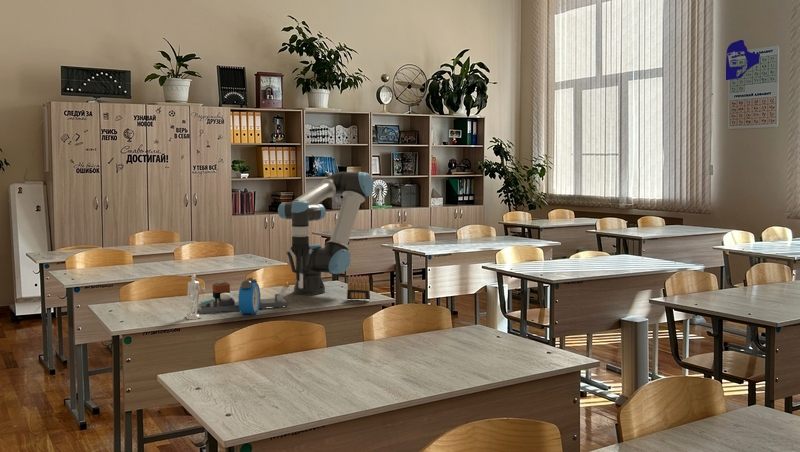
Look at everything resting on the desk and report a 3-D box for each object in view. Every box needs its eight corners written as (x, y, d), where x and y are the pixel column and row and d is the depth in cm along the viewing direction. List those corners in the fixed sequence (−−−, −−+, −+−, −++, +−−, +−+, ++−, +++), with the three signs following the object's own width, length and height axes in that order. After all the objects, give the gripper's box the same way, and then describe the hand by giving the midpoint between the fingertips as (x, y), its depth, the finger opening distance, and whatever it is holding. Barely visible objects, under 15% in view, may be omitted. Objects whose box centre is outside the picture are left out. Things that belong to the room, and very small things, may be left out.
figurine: (205, 315, 309) (203, 272, 308) (206, 318, 303) (205, 275, 301) (184, 316, 307) (183, 274, 305) (185, 320, 300) (183, 276, 298)
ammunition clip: (346, 300, 341) (346, 274, 339) (348, 299, 342) (348, 274, 341) (369, 301, 338) (369, 275, 337) (370, 300, 340) (370, 275, 338)
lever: (281, 298, 330) (289, 282, 331) (282, 299, 328) (291, 283, 328) (276, 296, 329) (284, 280, 330) (277, 297, 327) (286, 281, 327)
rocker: (214, 300, 320) (214, 297, 319) (215, 301, 317) (215, 298, 316) (200, 303, 318) (200, 301, 317) (201, 305, 315) (201, 302, 314)
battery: (230, 303, 332) (230, 282, 331) (215, 305, 329) (215, 283, 327) (227, 302, 336) (226, 280, 335) (212, 303, 332) (212, 281, 331)
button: (230, 299, 323) (229, 292, 322) (231, 301, 318) (231, 294, 318) (219, 299, 321) (219, 293, 321) (221, 301, 317) (221, 295, 317)
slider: (259, 298, 328) (259, 292, 328) (260, 299, 326) (260, 293, 326) (255, 299, 328) (255, 292, 327) (256, 300, 326) (256, 293, 325)
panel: (282, 303, 334) (282, 292, 333) (287, 307, 325) (287, 296, 325) (198, 309, 320) (198, 298, 320) (201, 313, 312) (200, 302, 311)
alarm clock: (252, 317, 306) (251, 281, 304) (237, 317, 306) (237, 281, 305) (260, 310, 319) (260, 276, 317) (246, 310, 319) (246, 276, 318)
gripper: (312, 234, 335) (312, 285, 337) (284, 235, 330) (284, 287, 332) (316, 236, 328) (317, 288, 330) (287, 237, 323) (288, 290, 326)
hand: (300, 287), depth 331 cm, fingers closed
